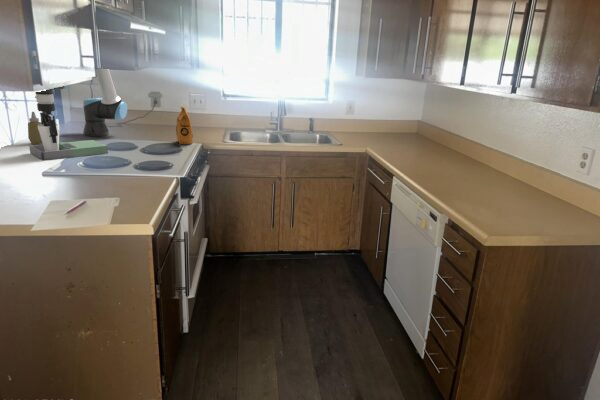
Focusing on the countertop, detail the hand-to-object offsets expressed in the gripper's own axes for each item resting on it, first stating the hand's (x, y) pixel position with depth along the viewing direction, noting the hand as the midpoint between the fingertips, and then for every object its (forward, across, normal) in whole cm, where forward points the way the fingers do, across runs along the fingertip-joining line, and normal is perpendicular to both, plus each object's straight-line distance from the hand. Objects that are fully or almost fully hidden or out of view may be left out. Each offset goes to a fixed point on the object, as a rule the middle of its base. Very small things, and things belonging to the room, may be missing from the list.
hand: (51, 147), depth 219 cm
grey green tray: (+4, 0, +8) cm, 9 cm away
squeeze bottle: (+4, -33, +2) cm, 33 cm away
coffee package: (+4, +5, +74) cm, 75 cm away
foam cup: (+2, 0, 0) cm, 2 cm away
